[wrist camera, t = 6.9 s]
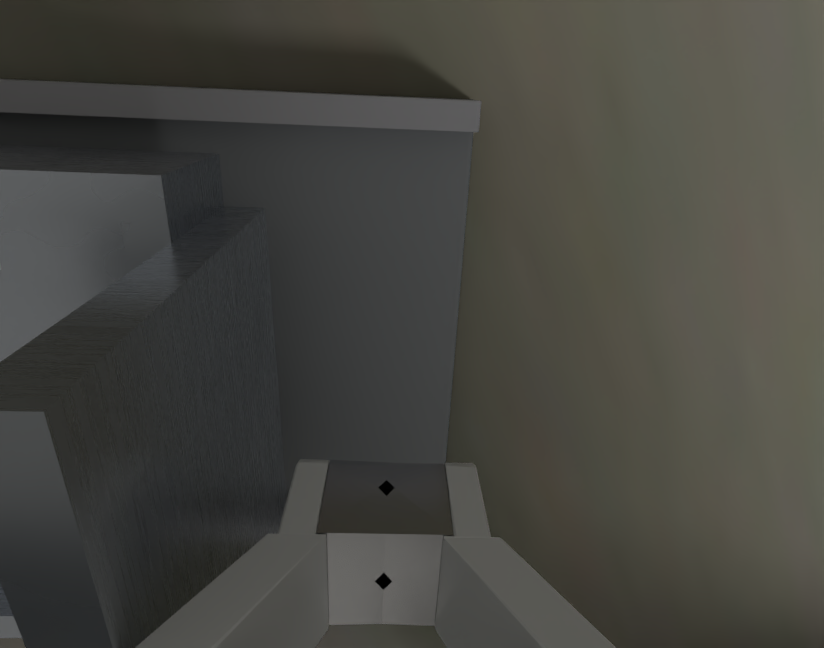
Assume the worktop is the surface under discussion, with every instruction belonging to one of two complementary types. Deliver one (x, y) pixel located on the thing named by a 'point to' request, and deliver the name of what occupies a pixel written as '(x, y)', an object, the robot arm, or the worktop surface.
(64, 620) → the long grey tray
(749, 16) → the worktop surface
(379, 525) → the robot arm
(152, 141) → the track
